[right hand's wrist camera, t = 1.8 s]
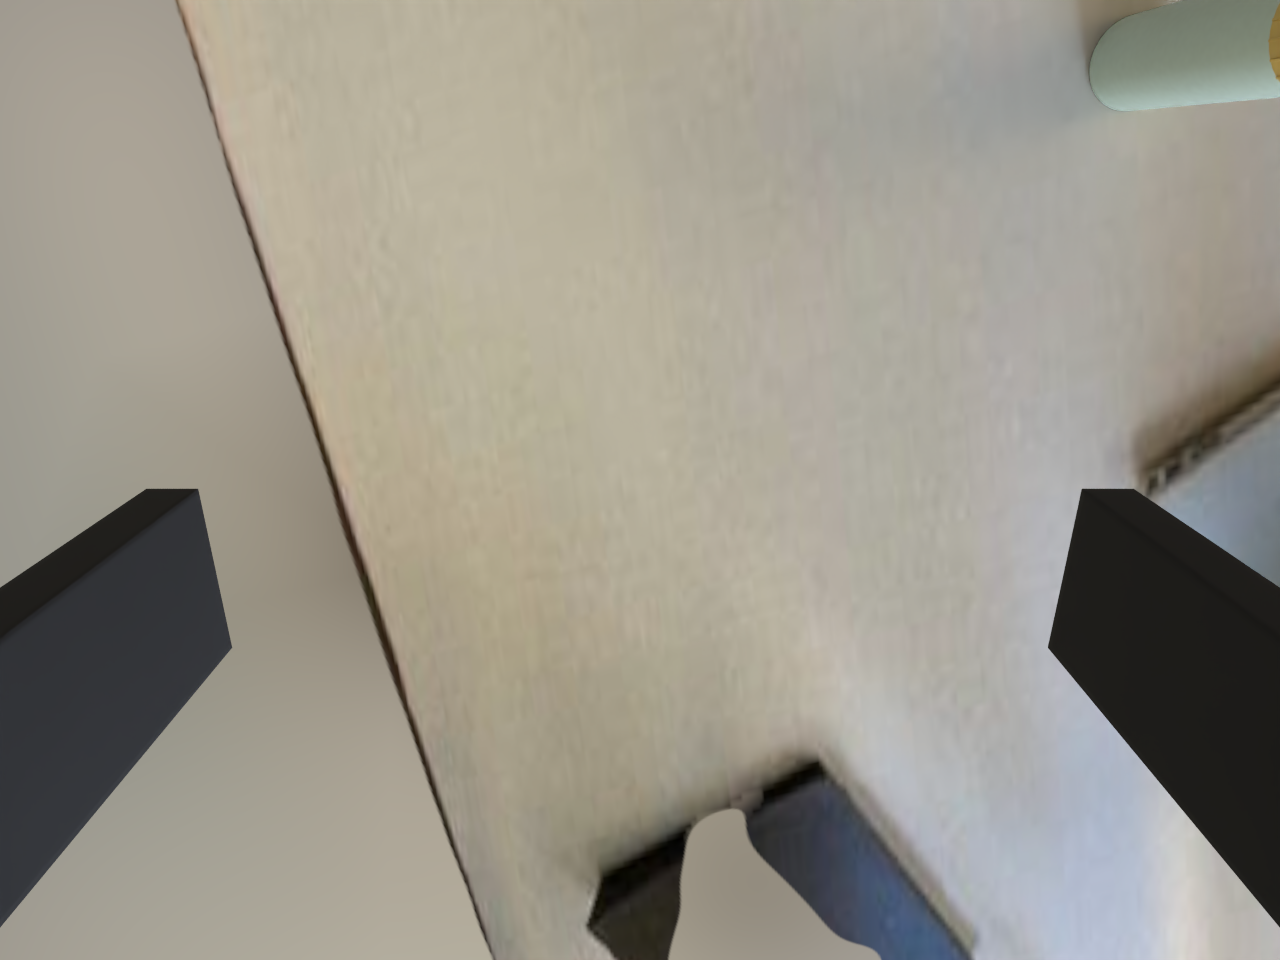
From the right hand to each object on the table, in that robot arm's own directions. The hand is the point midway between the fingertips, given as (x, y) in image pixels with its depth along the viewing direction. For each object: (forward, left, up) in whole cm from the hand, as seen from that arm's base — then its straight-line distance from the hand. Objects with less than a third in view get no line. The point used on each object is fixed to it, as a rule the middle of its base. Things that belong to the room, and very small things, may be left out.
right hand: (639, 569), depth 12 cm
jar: (-11, +28, -41) cm, 50 cm away
